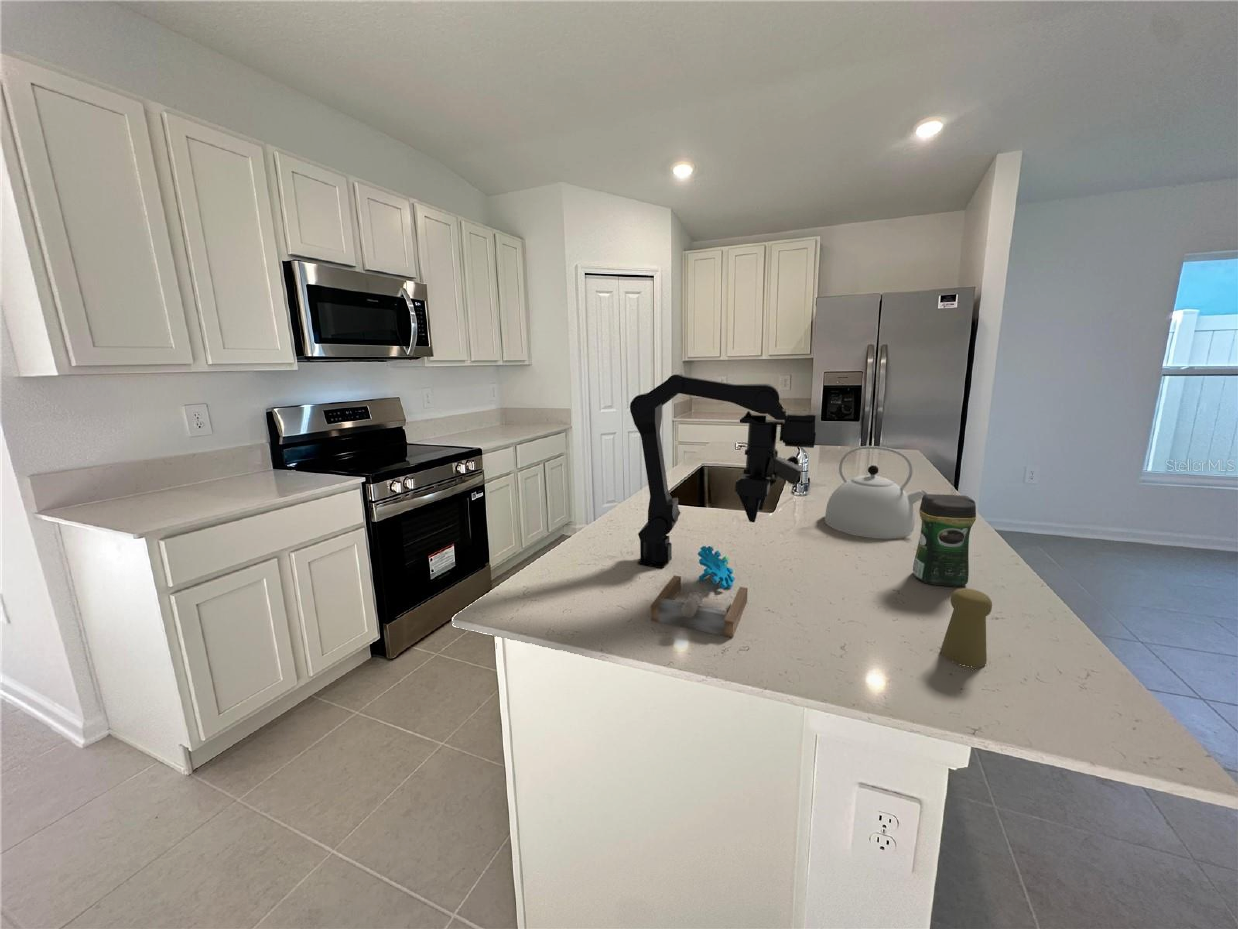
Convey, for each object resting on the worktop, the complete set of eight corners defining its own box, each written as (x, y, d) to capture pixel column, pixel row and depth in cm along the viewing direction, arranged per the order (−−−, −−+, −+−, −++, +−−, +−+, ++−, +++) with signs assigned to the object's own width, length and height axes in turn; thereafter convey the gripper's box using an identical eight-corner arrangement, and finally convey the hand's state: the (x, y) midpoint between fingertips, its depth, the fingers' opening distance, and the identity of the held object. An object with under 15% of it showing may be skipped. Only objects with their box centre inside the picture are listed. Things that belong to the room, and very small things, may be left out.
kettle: (925, 520, 140) (934, 443, 135) (923, 546, 121) (934, 458, 116) (831, 508, 153) (837, 437, 148) (817, 529, 134) (823, 449, 129)
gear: (724, 590, 96) (695, 548, 100) (703, 605, 99) (675, 563, 103) (745, 577, 105) (717, 539, 109) (725, 591, 108) (699, 553, 112)
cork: (931, 646, 80) (939, 584, 77) (966, 644, 80) (975, 582, 78) (959, 669, 74) (969, 603, 71) (996, 666, 74) (1007, 600, 72)
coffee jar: (956, 573, 106) (968, 491, 102) (972, 590, 98) (985, 502, 94) (907, 569, 108) (916, 489, 104) (919, 585, 101) (929, 499, 97)
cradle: (647, 624, 88) (647, 596, 86) (673, 588, 101) (674, 564, 100) (730, 643, 81) (731, 613, 80) (747, 602, 95) (748, 576, 94)
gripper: (797, 456, 90) (789, 535, 93) (806, 441, 106) (799, 508, 110) (736, 451, 95) (732, 526, 98) (754, 437, 111) (750, 502, 115)
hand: (756, 515), depth 105 cm, fingers open, 9 cm apart
